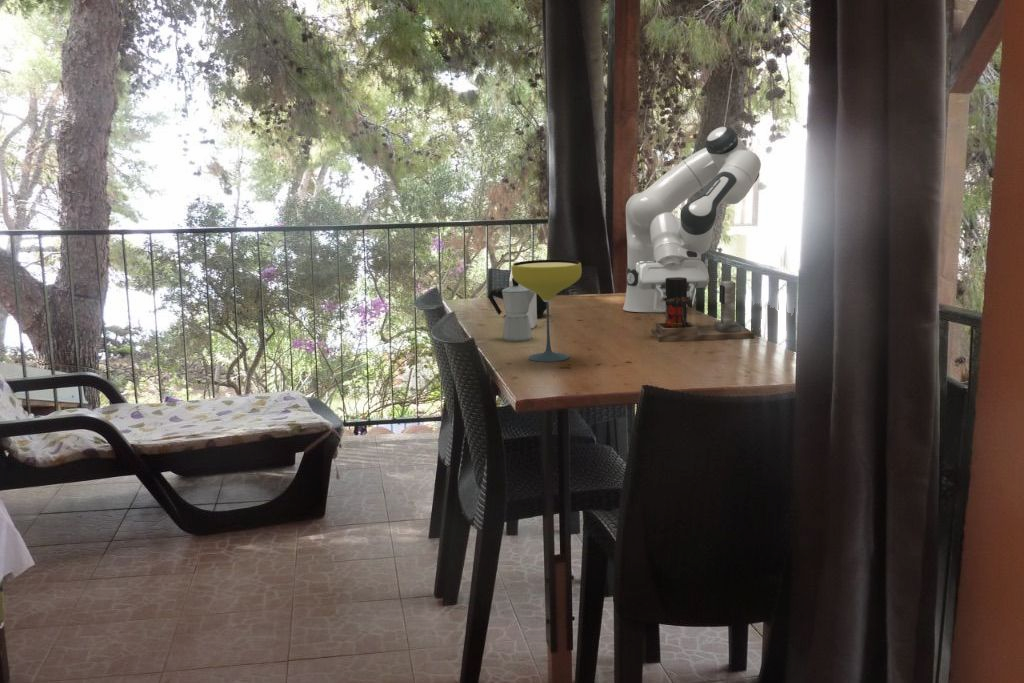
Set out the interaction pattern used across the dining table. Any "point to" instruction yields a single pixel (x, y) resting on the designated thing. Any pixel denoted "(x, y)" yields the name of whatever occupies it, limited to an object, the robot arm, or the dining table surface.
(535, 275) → the cocktail glass
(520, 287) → the coffee maker
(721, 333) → the wooden stand
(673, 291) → the deodorant
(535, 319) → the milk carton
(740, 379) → the dining table surface
